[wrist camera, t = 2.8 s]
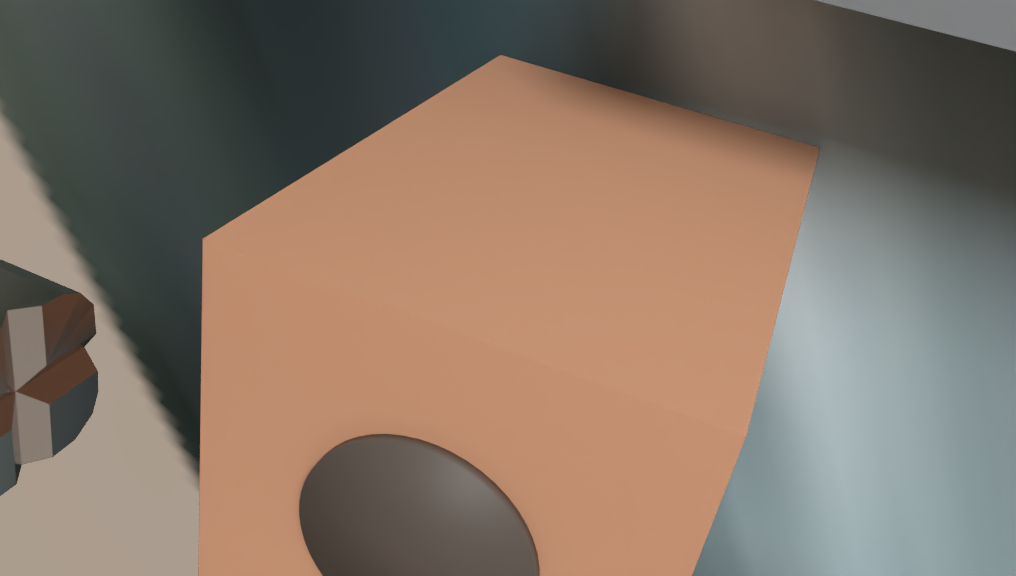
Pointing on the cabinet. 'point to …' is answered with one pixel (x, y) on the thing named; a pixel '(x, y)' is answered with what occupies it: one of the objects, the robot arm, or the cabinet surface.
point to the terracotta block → (495, 338)
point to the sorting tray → (948, 17)
